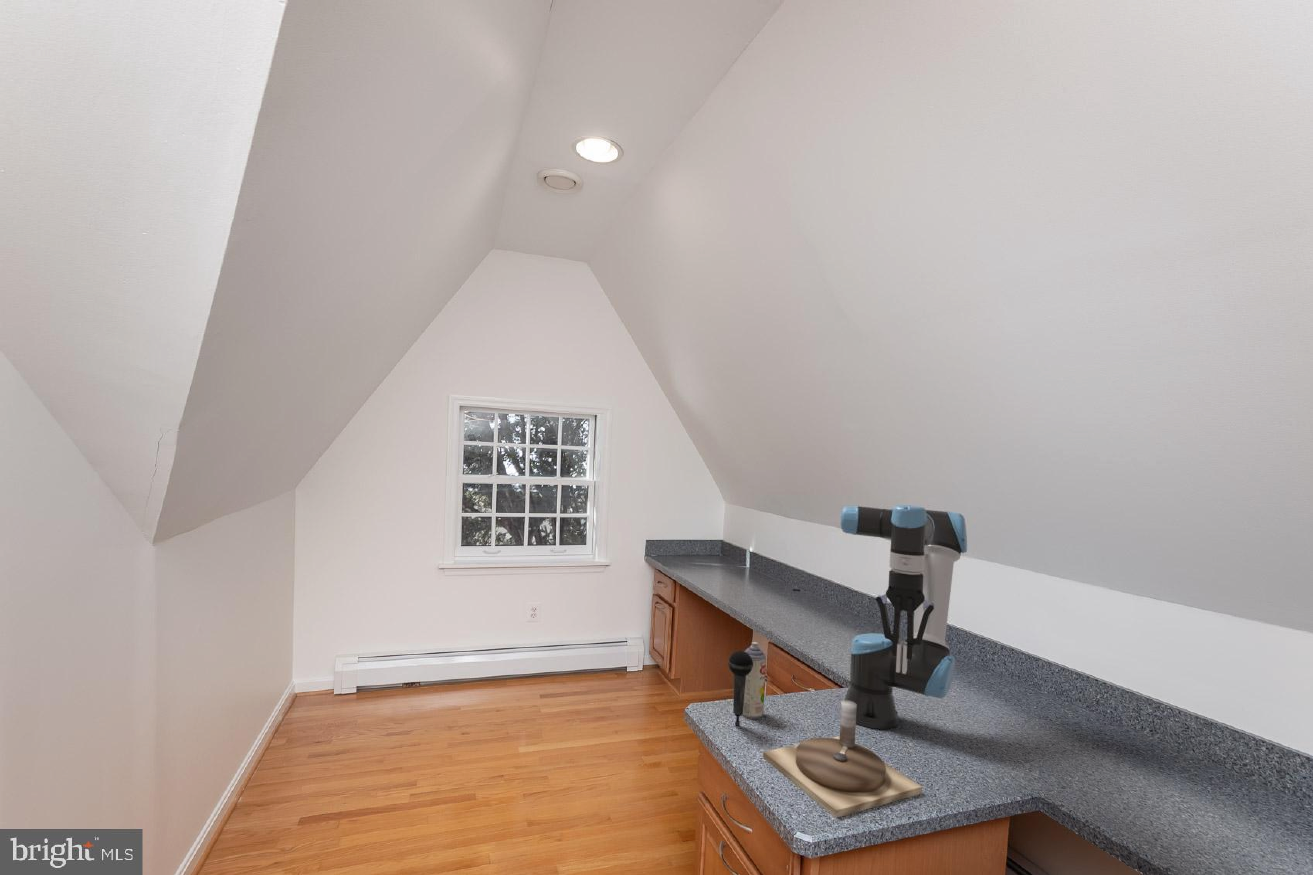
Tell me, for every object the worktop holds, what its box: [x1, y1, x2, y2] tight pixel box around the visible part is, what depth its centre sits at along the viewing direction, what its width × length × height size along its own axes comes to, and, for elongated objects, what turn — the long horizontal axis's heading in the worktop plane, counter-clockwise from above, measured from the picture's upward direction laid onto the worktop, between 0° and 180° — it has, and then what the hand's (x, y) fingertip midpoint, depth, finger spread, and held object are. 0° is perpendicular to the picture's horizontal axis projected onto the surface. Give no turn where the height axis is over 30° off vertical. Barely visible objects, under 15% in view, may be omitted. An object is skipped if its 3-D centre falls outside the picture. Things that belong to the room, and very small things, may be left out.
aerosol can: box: [740, 641, 767, 720], centre depth 169 cm, size 7×7×20 cm
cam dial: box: [796, 699, 886, 792], centre depth 138 cm, size 20×20×12 cm
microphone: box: [727, 650, 753, 727], centre depth 161 cm, size 7×7×20 cm
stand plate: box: [762, 735, 923, 819], centre depth 138 cm, size 25×25×2 cm
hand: (901, 671), depth 140 cm, fingers closed
